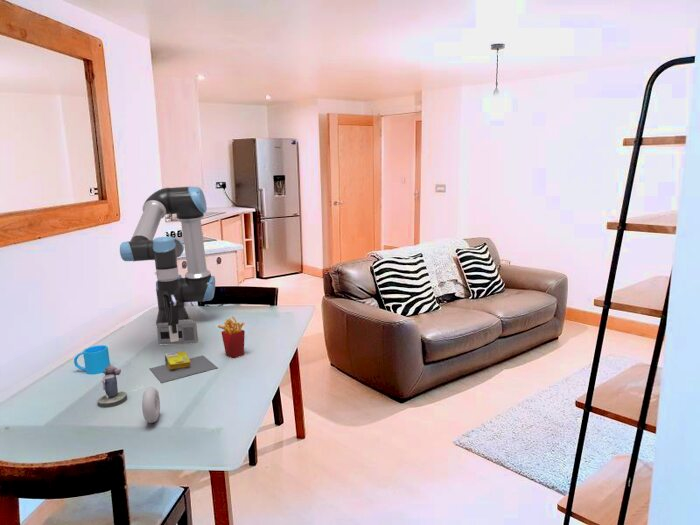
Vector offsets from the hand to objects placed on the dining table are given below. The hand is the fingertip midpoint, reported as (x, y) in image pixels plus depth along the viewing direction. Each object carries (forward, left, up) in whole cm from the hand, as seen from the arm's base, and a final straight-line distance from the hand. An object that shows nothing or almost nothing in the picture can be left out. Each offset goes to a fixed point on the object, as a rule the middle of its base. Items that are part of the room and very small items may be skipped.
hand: (174, 340), depth 186 cm
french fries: (+7, +19, -9) cm, 22 cm away
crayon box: (-2, 0, -7) cm, 7 cm away
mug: (-13, -27, -9) cm, 31 cm away
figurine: (+20, -26, -9) cm, 34 cm away
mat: (+8, 0, -9) cm, 12 cm away
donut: (+42, -19, -9) cm, 47 cm away
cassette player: (-22, +7, -9) cm, 25 cm away
